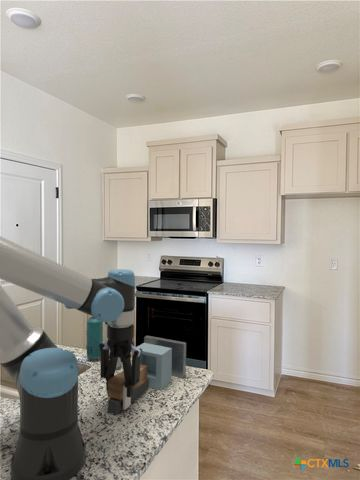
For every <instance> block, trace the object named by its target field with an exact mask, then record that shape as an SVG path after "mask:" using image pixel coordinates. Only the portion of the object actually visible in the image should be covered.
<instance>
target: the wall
mask: <svg viewBox="0 0 360 480" xmlns="http://www.w3.org/2000/svg"><path fill="white" fill-rule="evenodd" d="M143 343H148V344H153V345H158V346H163V347H169V348H172V375H171V377H176V378H179V379H185V377H186V371H187V370H186V369H187V342H185V341H179V340H173V339H167V338H164V337H158V336H157V337H156V336H151V335H145V336H144V337H143Z"/></svg>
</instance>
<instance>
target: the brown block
mask: <svg viewBox="0 0 360 480" xmlns="http://www.w3.org/2000/svg"><path fill="white" fill-rule="evenodd" d="M147 370H148V366H145V365H141V364H140V381H139V383H137V384H136V385H134V386H133V390H135V389H136V388H137V387H139V386H140V385H142V384H143V383H144V382H146V381H147ZM124 385H126V383H125V377H124V371H121V372H119V373H117V374H116V375H115V376H114V377H113V378H111V379H109V380H108V391H107V397H108V396H109V397H112V398H115V399H119V400H121V399H123V386H124Z"/></svg>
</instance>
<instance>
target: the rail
mask: <svg viewBox="0 0 360 480" xmlns="http://www.w3.org/2000/svg"><path fill="white" fill-rule="evenodd" d="M149 388H150V387H149V378H147V381H146V382H144V383H143V384H142V385H140V386H139V387H137V388H136V389H135V390H133V395H132V396H131V404H132V403H133V402H135V401H136V400H137V399H138V398H139V397H140V396H141V395H143V394H144V393H145V392H147V391H148V390H149ZM123 410H124V409H123V399H121V400H119V399H115V398H111V399H109V400H108V399H107V413H108V414H111V415H115V416H117V415H118V414H120V413H121V412H122V411H123Z"/></svg>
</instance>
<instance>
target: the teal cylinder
mask: <svg viewBox="0 0 360 480" xmlns="http://www.w3.org/2000/svg"><path fill="white" fill-rule="evenodd" d="M103 328H104V322H102V321H100V320H97V319H95V318H94V317H93V316H90V317H89V318H87V320H86V346H85V347H86V349H85V350H86V357H87V358H88V359H99V358H101V351H100V347H99V344H101V343H103V342H104V332H103V331H104V329H103Z"/></svg>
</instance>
